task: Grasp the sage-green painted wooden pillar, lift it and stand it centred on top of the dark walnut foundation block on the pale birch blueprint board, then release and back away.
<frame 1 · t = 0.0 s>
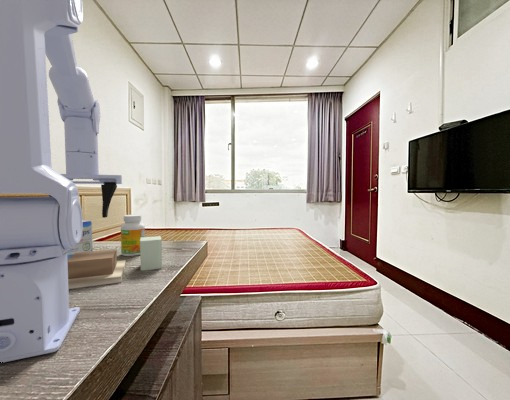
hand: (84, 217, 54), 10 cm above the table, tool pointing down, fingers open, 7 cm apart
supplement bottle: (133, 254, 63), on the table
medicine box: (71, 260, 58), on the table
sage pillar: (151, 266, 53), on the table
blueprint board: (93, 276, 47), on the table
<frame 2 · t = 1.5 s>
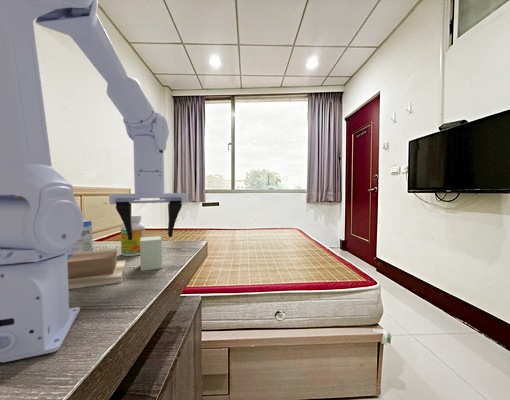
hand: (150, 237, 53), 6 cm above the table, tool pointing down, fingers open, 7 cm apart
nothing on the table moved.
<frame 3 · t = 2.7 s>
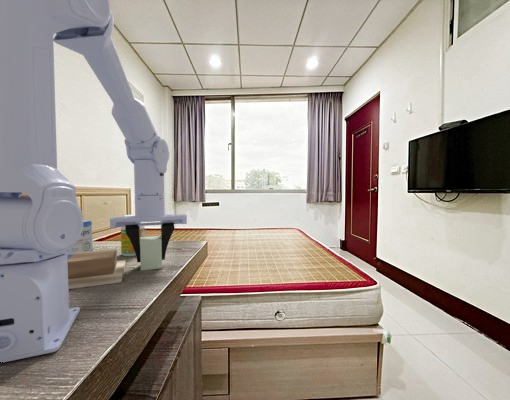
hand: (151, 259, 53), 1 cm above the table, tool pointing down, fingers closed on sage pillar, 4 cm apart
sage pillar: (151, 266, 53), on the table, touching gripper
everything else where it was.
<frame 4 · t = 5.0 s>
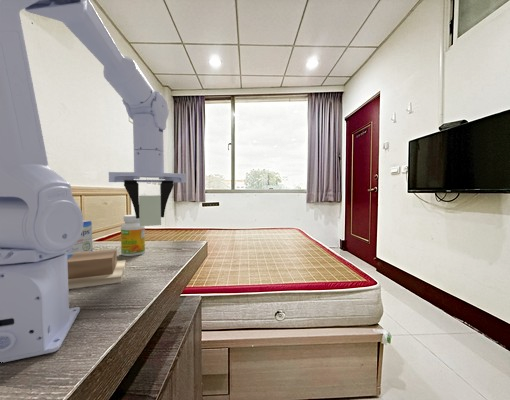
hand: (150, 217, 53), 10 cm above the table, tool pointing down, fingers closed on sage pillar, 4 cm apart
sage pillar: (150, 224, 53), point 9 cm above the table, touching gripper
everything else where it was.
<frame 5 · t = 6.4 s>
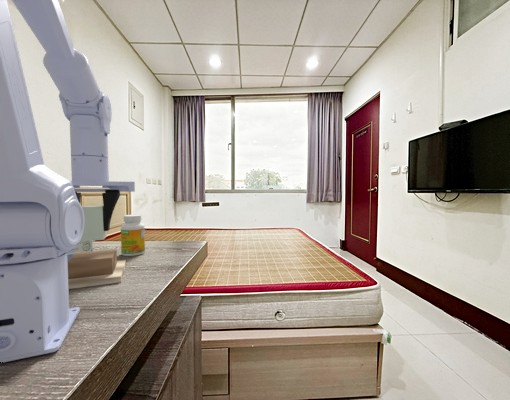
hand: (92, 231, 47), 8 cm above the table, tool pointing down, fingers closed on sage pillar, 4 cm apart
sage pillar: (92, 238, 47), point 7 cm above the table, touching gripper
everything else where it was.
when the fingers open (6 cm above the table, at t = 7.2 s): sage pillar stays where it is, resting on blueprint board.
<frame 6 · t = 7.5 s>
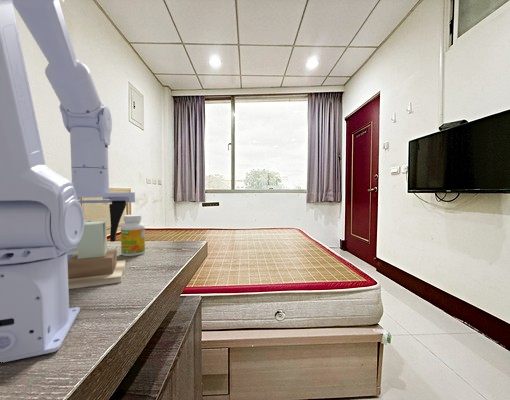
hand: (92, 242, 47), 6 cm above the table, tool pointing down, fingers open, 6 cm apart
sage pillar: (93, 254, 47), point 4 cm above the table, touching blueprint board
everything else where it was.
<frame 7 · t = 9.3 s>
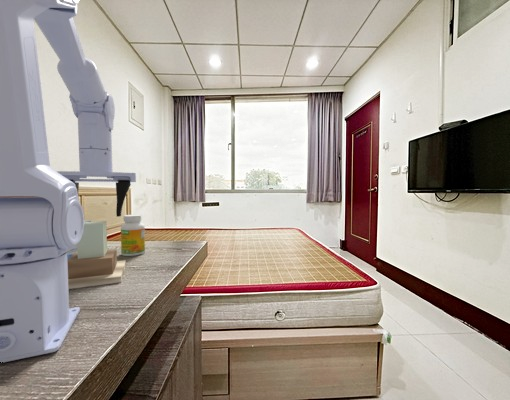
hand: (97, 216, 52), 11 cm above the table, tool pointing down, fingers open, 7 cm apart
nothing on the table moved.
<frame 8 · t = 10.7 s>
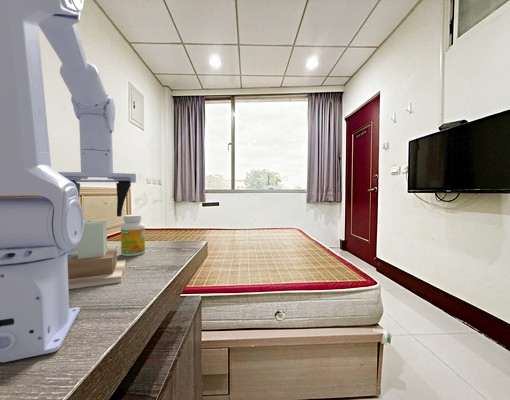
hand: (98, 216, 53), 10 cm above the table, tool pointing down, fingers open, 7 cm apart
nothing on the table moved.
at the end: sage pillar 0.0 cm off-centre on the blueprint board, point 4.0 cm above the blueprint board's base; sage pillar tilted 0°; the gripper is holding nothing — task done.
